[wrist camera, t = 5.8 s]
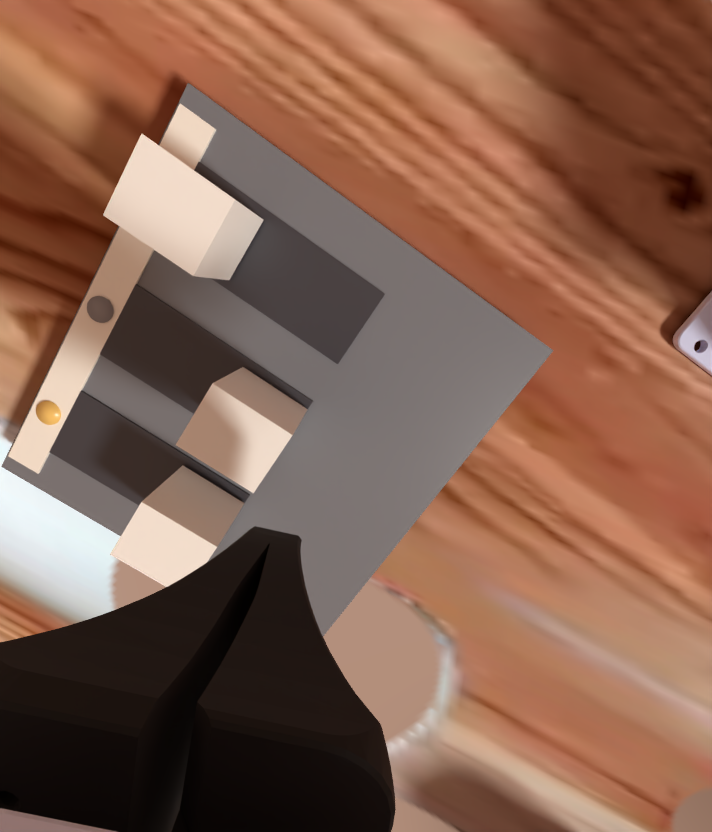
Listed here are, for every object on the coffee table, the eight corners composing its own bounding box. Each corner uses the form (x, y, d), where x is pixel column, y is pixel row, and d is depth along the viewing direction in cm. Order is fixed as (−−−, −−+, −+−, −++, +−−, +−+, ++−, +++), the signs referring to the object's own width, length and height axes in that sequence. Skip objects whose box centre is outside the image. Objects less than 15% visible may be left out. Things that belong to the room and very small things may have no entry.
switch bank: (538, 346, 18) (555, 351, 17) (316, 625, 22) (312, 651, 21) (204, 101, 16) (186, 80, 15) (28, 454, 20) (-3, 468, 19)
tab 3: (244, 503, 19) (217, 547, 15) (215, 545, 19) (183, 596, 16) (182, 465, 18) (141, 501, 15) (155, 509, 19) (110, 554, 16)
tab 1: (263, 220, 16) (235, 199, 12) (229, 280, 16) (193, 276, 13) (190, 167, 15) (141, 133, 12) (158, 232, 16) (103, 215, 13)
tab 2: (307, 409, 18) (292, 435, 14) (275, 457, 18) (253, 493, 15) (243, 366, 17) (212, 383, 14) (211, 417, 18) (175, 444, 15)
